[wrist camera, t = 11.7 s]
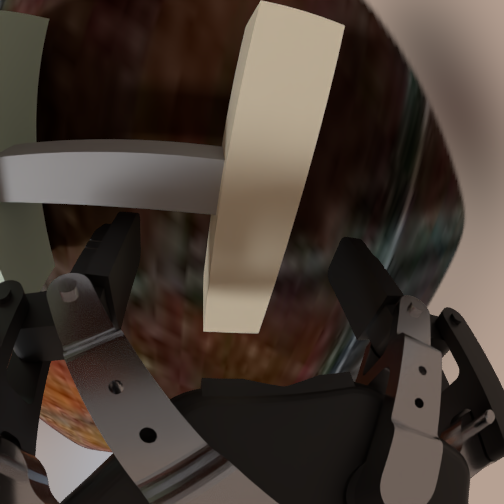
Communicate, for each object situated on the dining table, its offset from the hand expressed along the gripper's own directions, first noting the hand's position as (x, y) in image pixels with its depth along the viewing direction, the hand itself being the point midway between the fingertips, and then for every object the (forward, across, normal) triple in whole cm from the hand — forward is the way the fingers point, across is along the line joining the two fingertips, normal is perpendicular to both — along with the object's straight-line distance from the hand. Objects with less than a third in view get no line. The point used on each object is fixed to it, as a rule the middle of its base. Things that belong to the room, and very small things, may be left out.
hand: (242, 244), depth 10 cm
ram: (+1, +6, -3) cm, 7 cm away
